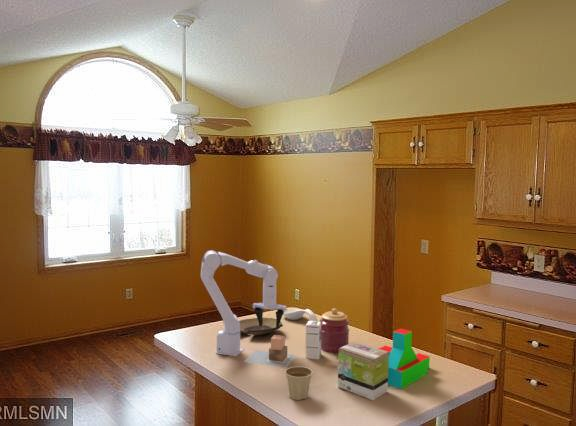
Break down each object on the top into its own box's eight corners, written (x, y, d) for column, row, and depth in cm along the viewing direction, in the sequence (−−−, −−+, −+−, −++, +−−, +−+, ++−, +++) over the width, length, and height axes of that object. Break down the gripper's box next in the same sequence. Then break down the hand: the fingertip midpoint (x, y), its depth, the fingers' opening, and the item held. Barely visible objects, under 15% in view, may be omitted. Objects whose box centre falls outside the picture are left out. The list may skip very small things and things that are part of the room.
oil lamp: (258, 345, 219) (258, 328, 219) (215, 330, 240) (215, 314, 239) (292, 333, 236) (292, 317, 235) (249, 320, 256) (249, 305, 255)
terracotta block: (270, 349, 200) (270, 338, 200) (274, 345, 205) (274, 334, 204) (281, 350, 199) (281, 339, 199) (284, 346, 203) (284, 336, 203)
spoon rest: (277, 317, 262) (277, 304, 261) (294, 314, 269) (294, 301, 269) (306, 329, 243) (306, 314, 243) (324, 324, 251) (324, 310, 250)
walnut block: (268, 360, 201) (268, 349, 200) (273, 354, 206) (273, 344, 206) (282, 361, 199) (283, 350, 199) (287, 356, 205) (287, 345, 204)
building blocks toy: (434, 370, 194) (436, 324, 192) (401, 389, 176) (402, 339, 174) (392, 357, 207) (394, 314, 205) (357, 374, 189) (358, 327, 187)
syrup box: (319, 360, 202) (320, 325, 201) (305, 358, 203) (305, 324, 202) (321, 355, 208) (321, 321, 207) (307, 353, 209) (307, 320, 208)
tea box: (336, 388, 176) (337, 347, 175) (352, 379, 184) (353, 340, 182) (373, 401, 166) (374, 358, 165) (388, 391, 174) (389, 350, 172)
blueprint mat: (243, 362, 198) (243, 361, 198) (255, 350, 212) (255, 350, 212) (286, 368, 193) (286, 367, 193) (296, 355, 207) (296, 354, 207)
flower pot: (283, 390, 173) (283, 366, 173) (310, 389, 174) (310, 365, 174) (285, 402, 164) (286, 377, 163) (314, 402, 165) (314, 376, 164)
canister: (334, 355, 207) (335, 314, 206) (312, 347, 217) (313, 307, 215) (355, 348, 216) (356, 309, 214) (333, 341, 225) (334, 302, 224)
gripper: (250, 295, 210) (250, 327, 211) (283, 298, 205) (282, 330, 206) (256, 291, 216) (255, 322, 217) (288, 294, 212) (287, 325, 213)
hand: (269, 326), depth 212 cm, fingers open, 7 cm apart
